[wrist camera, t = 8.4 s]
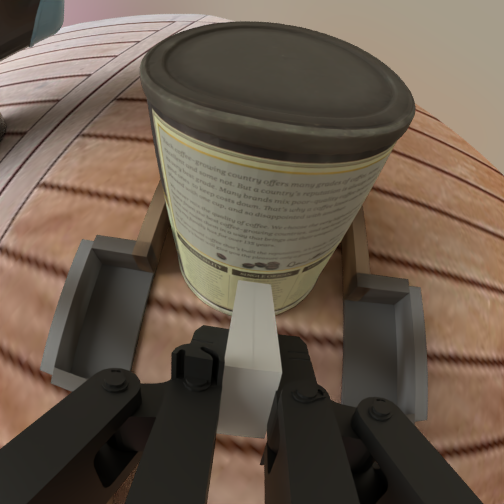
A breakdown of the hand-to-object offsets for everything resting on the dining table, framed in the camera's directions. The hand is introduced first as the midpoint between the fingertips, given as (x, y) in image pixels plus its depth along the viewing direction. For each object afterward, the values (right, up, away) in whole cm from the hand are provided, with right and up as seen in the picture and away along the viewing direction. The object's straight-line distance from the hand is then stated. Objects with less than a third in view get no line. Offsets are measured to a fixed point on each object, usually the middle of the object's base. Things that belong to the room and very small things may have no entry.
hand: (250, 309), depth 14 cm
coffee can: (0, +3, +8) cm, 8 cm away
